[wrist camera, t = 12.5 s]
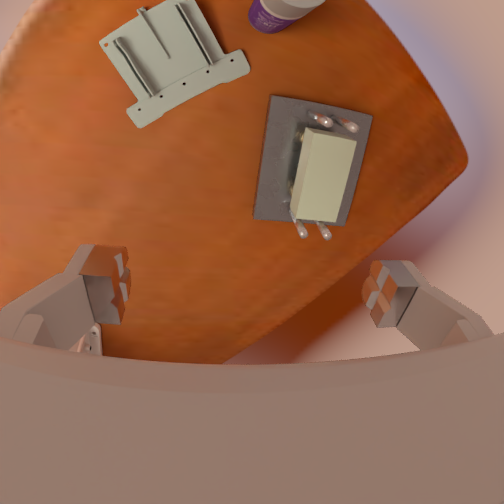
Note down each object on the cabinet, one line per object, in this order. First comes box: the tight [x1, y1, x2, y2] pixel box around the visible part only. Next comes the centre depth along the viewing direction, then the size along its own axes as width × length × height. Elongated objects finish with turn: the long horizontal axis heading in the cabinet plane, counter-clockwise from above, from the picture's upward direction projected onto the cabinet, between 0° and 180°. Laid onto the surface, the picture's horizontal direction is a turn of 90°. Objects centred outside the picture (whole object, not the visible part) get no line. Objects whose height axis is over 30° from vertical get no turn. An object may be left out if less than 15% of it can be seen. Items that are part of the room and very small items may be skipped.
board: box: [290, 127, 357, 222], centre depth 33 cm, size 10×5×3 cm, turn 172°
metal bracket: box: [99, 0, 250, 128], centre depth 28 cm, size 14×6×15 cm
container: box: [248, 0, 325, 34], centre depth 21 cm, size 5×5×15 cm
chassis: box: [252, 95, 373, 240], centre depth 35 cm, size 16×13×8 cm
